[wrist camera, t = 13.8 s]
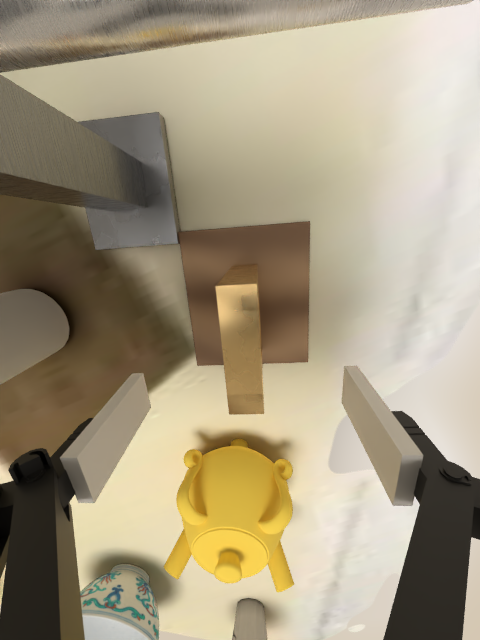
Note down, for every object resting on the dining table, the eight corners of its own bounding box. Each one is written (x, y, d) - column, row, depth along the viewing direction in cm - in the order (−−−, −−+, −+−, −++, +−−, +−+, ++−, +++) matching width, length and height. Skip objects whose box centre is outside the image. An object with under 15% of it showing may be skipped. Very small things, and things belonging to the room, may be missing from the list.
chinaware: (181, 603, 44) (166, 675, 37) (101, 600, 46) (72, 670, 38) (163, 546, 39) (141, 617, 32) (75, 546, 41) (35, 614, 34)
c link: (232, 265, 24) (215, 286, 15) (257, 264, 24) (256, 283, 14) (239, 351, 27) (229, 414, 17) (261, 350, 27) (263, 413, 17)
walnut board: (180, 232, 24) (178, 232, 23) (308, 221, 23) (309, 221, 22) (198, 363, 28) (197, 365, 28) (306, 359, 27) (307, 362, 27)
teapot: (183, 501, 36) (153, 612, 25) (183, 424, 31) (145, 521, 21) (284, 512, 35) (296, 631, 25) (298, 436, 31) (320, 541, 20)
